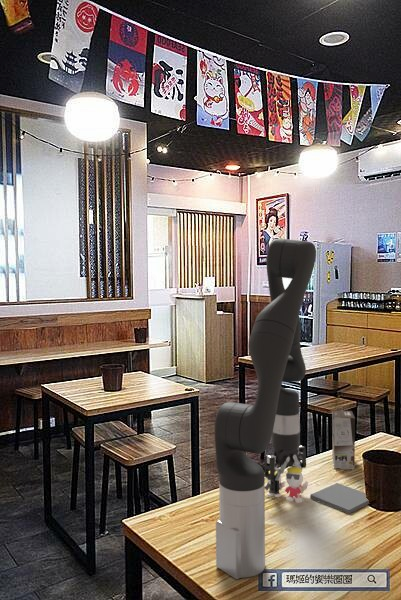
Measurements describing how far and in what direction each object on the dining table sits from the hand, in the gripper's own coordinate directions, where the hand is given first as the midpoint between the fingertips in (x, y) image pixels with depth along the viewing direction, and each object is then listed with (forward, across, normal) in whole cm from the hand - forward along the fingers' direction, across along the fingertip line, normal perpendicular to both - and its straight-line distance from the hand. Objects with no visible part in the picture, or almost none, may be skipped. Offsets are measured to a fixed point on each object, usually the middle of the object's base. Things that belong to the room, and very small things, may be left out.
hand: (285, 488), depth 137 cm
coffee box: (+2, +32, +4) cm, 32 cm away
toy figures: (+2, 0, 0) cm, 2 cm away
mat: (+2, +10, -11) cm, 15 cm away
